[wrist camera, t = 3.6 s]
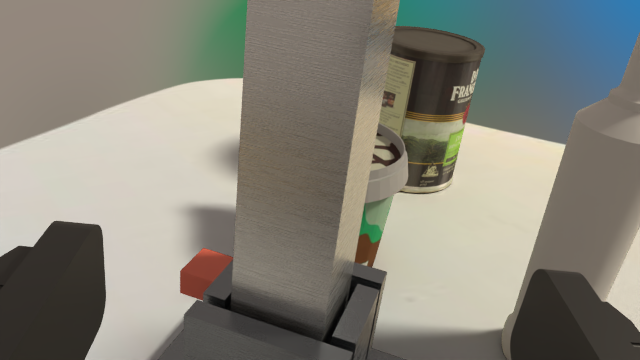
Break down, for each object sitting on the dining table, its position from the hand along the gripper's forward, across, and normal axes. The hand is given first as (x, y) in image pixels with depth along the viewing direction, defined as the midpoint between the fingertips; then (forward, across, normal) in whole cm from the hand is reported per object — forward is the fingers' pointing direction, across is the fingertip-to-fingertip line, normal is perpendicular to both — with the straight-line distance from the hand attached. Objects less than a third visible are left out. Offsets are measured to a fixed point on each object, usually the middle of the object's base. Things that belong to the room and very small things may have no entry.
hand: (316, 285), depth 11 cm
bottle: (+20, -17, +19) cm, 33 cm away
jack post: (+11, 0, +17) cm, 21 cm away
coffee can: (+46, -12, +19) cm, 52 cm away
